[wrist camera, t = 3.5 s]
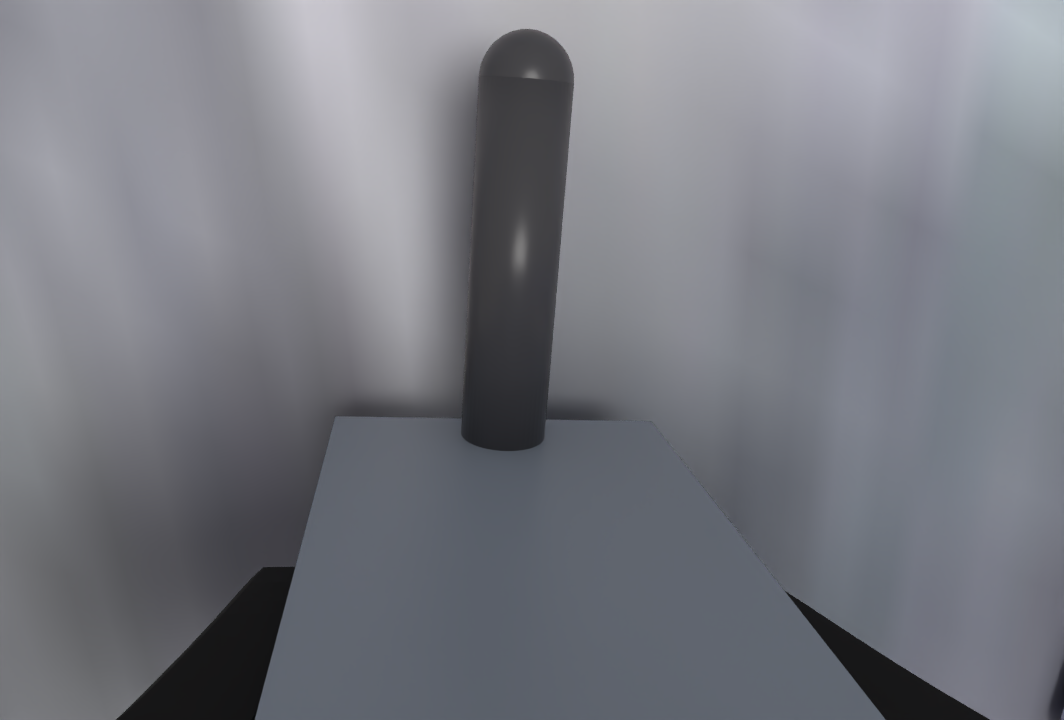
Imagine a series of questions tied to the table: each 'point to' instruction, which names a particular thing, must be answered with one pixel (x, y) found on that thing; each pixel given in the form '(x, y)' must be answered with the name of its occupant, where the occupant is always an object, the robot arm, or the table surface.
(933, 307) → the table surface
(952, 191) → the table surface
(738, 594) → the plug
